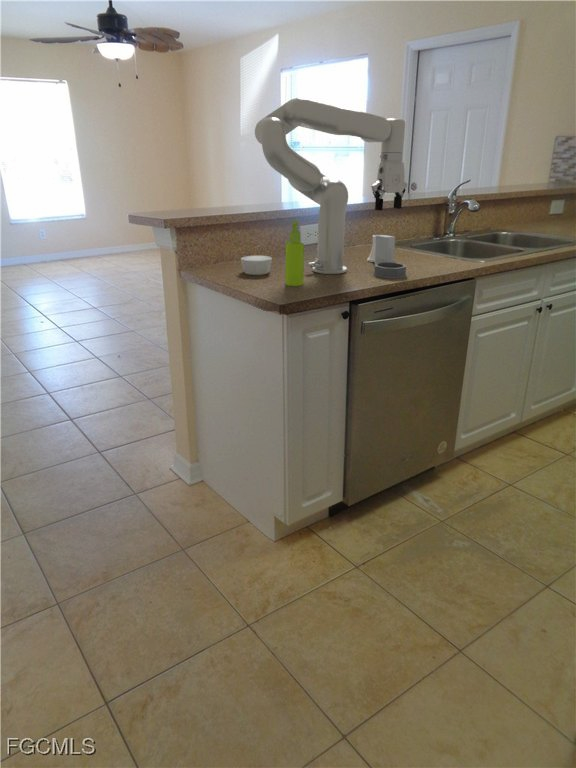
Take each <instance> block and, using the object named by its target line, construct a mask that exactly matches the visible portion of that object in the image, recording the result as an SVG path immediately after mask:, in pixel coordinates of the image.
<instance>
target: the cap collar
mask: <svg viewBox="0 0 576 768" xmlns="http://www.w3.org/2000/svg"><path fill="white" fill-rule="evenodd" d="M406 271H407V266H406V264H404V263H400V262H395V261H394V262H381V263H374V270H373V273H372V275H373V276H374V275H375V276H374V277H377V278H381V277H382V278H383V279H401V278H402V277H403V278H405V277H407V274H406Z"/></svg>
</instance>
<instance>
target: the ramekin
mask: <svg viewBox="0 0 576 768" xmlns="http://www.w3.org/2000/svg"><path fill="white" fill-rule="evenodd" d="M240 262H241V267H242V271H243V273H244V274H247V275H251V276H262V275H267V274H269V273H270V271H271V267H272V262H273V258H272V257H271V256H268V255H247V256H243V257H241V258H240Z"/></svg>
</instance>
